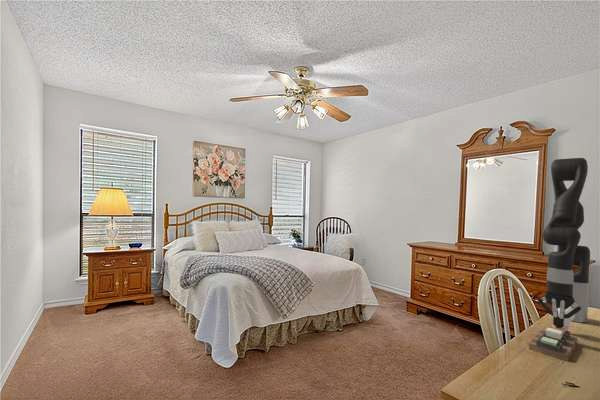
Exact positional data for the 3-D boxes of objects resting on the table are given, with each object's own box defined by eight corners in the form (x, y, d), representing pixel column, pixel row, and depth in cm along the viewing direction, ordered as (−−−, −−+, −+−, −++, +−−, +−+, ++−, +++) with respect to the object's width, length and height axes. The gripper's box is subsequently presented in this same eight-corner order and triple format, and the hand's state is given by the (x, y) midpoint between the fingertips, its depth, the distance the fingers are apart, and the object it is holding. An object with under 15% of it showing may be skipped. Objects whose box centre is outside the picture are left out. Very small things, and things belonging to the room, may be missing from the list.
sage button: (543, 342, 105) (543, 336, 105) (558, 346, 102) (558, 340, 102) (540, 345, 102) (540, 339, 102) (555, 350, 99) (556, 343, 99)
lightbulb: (575, 337, 116) (576, 308, 116) (553, 332, 120) (554, 304, 120) (573, 332, 121) (574, 304, 121) (552, 327, 125) (553, 301, 125)
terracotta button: (552, 329, 116) (552, 324, 116) (566, 333, 113) (566, 327, 113) (550, 332, 113) (550, 326, 113) (564, 336, 110) (564, 330, 110)
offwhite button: (548, 332, 110) (548, 327, 110) (562, 336, 107) (562, 331, 107) (545, 335, 108) (545, 329, 108) (560, 339, 105) (560, 333, 105)
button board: (542, 333, 118) (543, 324, 118) (577, 343, 111) (577, 333, 111) (528, 349, 104) (529, 339, 104) (567, 361, 96) (567, 350, 96)
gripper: (585, 283, 111) (584, 331, 110) (539, 275, 120) (538, 320, 120) (582, 286, 106) (581, 336, 105) (535, 278, 116) (533, 324, 115)
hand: (558, 327), depth 113 cm, fingers closed
